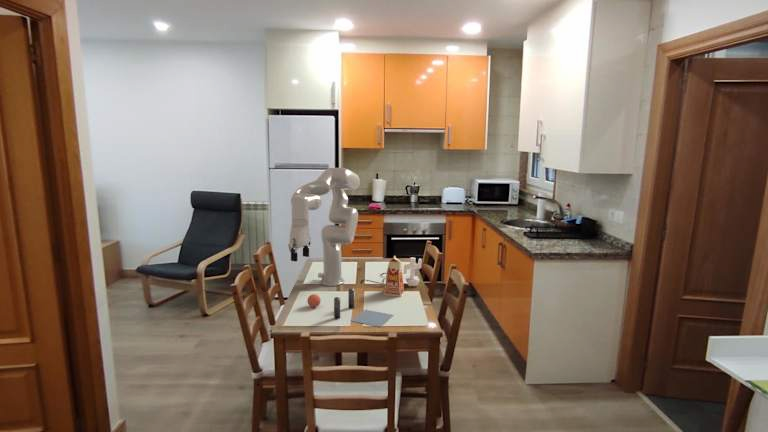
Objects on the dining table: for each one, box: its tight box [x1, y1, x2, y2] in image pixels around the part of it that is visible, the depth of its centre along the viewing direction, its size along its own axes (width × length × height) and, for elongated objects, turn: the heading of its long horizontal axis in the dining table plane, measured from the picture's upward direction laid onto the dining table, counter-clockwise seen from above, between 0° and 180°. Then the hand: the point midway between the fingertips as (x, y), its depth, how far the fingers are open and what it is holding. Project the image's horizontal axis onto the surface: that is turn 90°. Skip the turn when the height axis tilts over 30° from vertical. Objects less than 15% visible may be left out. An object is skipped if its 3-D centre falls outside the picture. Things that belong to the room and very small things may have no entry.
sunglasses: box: [360, 272, 387, 287], centre depth 245 cm, size 17×15×5 cm
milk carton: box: [383, 255, 405, 297], centre depth 225 cm, size 9×9×20 cm
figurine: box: [403, 257, 423, 287], centre depth 238 cm, size 7×9×15 cm
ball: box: [307, 293, 322, 308], centre depth 206 cm, size 6×6×6 cm
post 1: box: [333, 297, 341, 320], centre depth 193 cm, size 3×3×9 cm
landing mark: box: [350, 309, 394, 328], centre depth 195 cm, size 14×14×1 cm
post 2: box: [347, 287, 355, 310], centre depth 205 cm, size 3×3×9 cm
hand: (300, 258), depth 207 cm, fingers open, 9 cm apart
